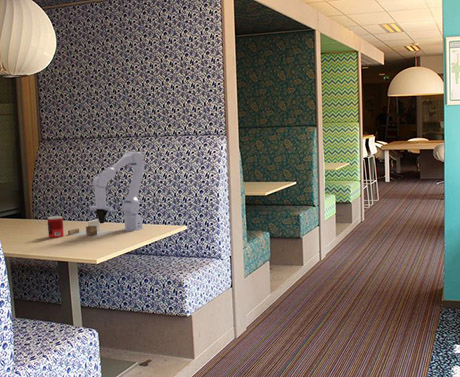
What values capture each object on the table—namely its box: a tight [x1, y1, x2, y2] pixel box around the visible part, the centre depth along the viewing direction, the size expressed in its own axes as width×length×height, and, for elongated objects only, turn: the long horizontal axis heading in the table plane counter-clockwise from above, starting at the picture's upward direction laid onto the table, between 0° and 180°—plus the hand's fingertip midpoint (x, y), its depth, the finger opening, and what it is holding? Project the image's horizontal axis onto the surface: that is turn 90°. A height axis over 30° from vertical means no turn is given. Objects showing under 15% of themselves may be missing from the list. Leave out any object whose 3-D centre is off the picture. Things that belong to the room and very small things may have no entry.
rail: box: [67, 228, 80, 236], centre depth 342 cm, size 2×7×2 cm, turn 152°
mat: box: [72, 229, 116, 238], centre depth 342 cm, size 20×17×1 cm
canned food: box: [47, 215, 65, 239], centre depth 335 cm, size 8×8×11 cm
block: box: [85, 225, 97, 237], centre depth 335 cm, size 4×4×5 cm
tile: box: [87, 219, 101, 233], centre depth 342 cm, size 2×7×7 cm, turn 152°
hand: (102, 223), depth 338 cm, fingers closed
